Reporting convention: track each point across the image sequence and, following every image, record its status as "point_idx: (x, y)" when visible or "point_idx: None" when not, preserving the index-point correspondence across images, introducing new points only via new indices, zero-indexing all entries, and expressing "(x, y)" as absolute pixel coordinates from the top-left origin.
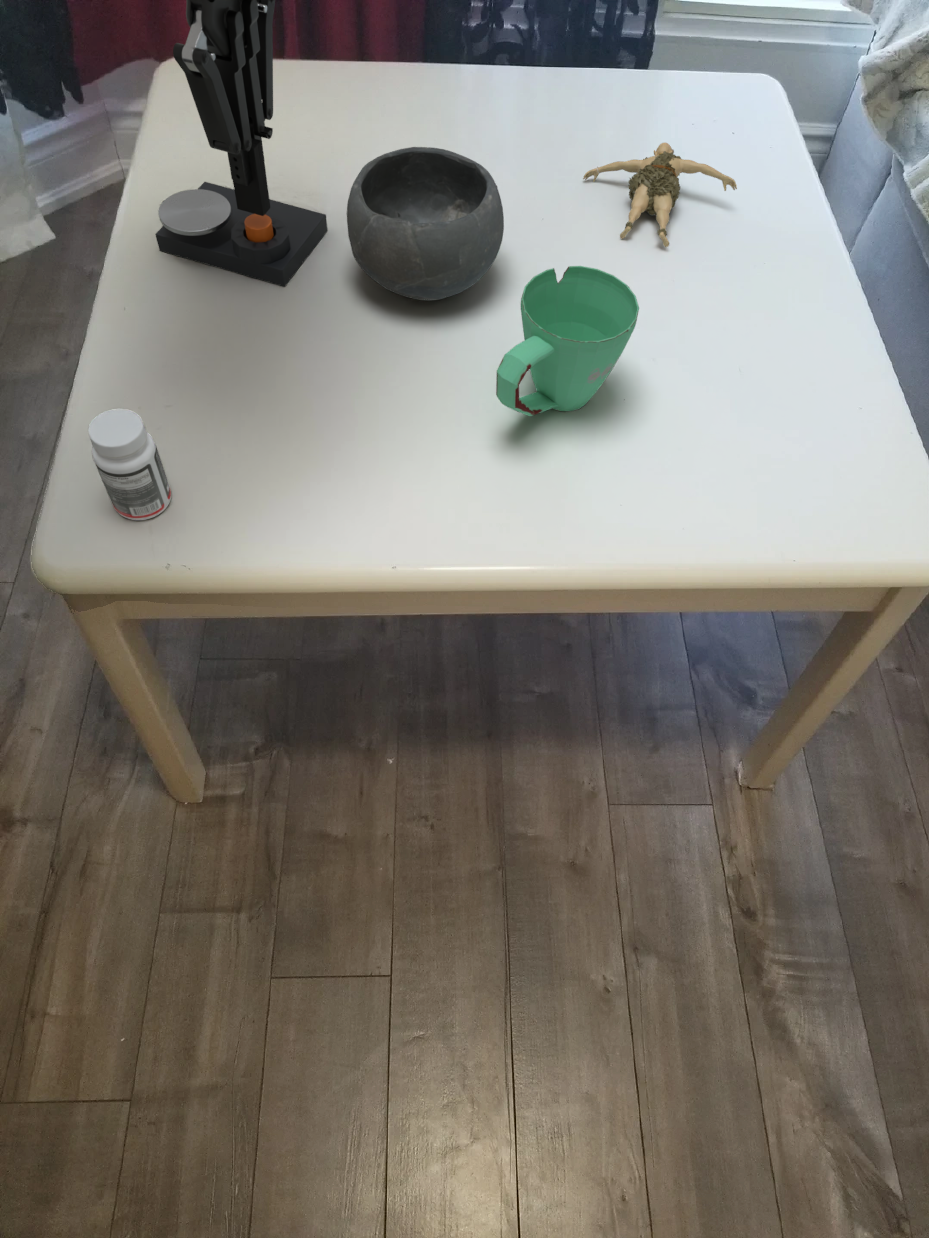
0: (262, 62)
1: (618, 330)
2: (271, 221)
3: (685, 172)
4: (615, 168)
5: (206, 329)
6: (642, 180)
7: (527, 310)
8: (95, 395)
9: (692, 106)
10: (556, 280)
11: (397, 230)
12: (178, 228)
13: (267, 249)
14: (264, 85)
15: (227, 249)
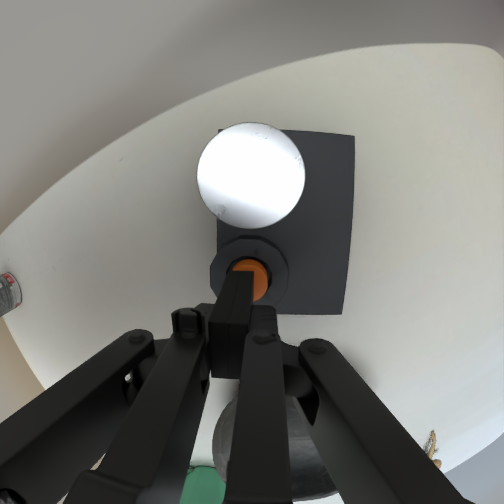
0: (338, 480)
1: None
2: (255, 300)
3: None
4: (429, 451)
5: (128, 254)
6: None
7: (198, 501)
8: (40, 208)
9: (491, 426)
10: None
11: (217, 470)
12: (199, 176)
13: None
14: (316, 441)
15: (226, 233)
